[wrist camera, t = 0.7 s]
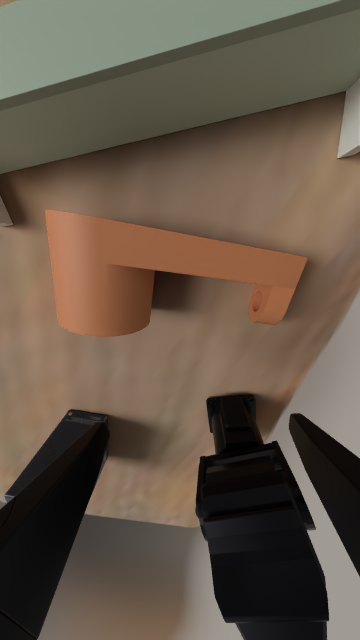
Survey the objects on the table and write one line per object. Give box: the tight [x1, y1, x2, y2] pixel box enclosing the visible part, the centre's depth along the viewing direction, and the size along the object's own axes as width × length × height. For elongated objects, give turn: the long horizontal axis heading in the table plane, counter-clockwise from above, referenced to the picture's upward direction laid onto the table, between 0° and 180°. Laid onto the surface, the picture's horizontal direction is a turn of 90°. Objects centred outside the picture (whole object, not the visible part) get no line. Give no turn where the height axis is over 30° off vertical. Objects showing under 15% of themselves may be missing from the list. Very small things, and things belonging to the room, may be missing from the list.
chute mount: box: [0, 0, 360, 227], centre depth 12 cm, size 7×32×7 cm, turn 99°
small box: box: [4, 410, 108, 503], centre depth 24 cm, size 11×6×10 cm, turn 171°
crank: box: [45, 210, 308, 337], centre depth 15 cm, size 20×8×8 cm, turn 81°
